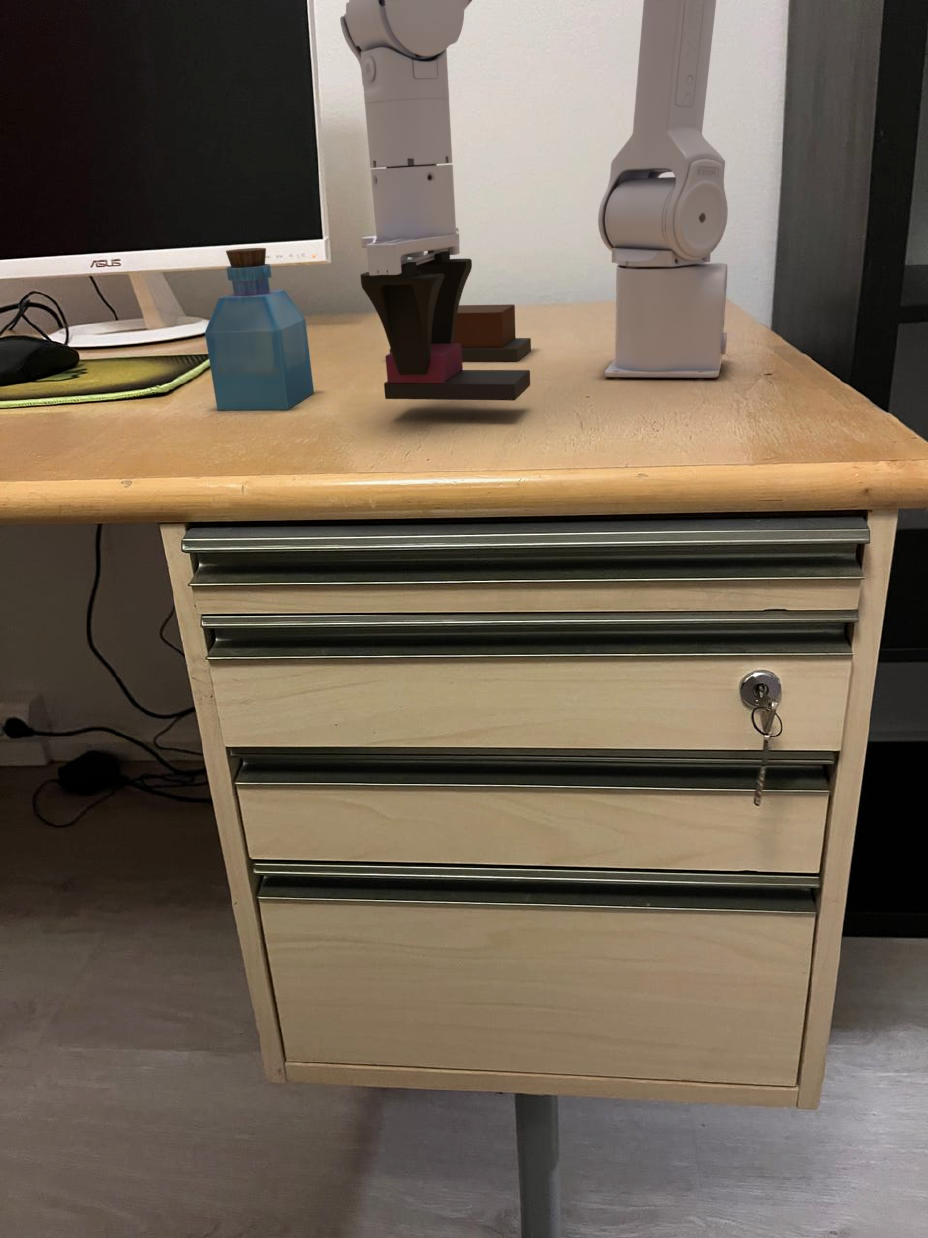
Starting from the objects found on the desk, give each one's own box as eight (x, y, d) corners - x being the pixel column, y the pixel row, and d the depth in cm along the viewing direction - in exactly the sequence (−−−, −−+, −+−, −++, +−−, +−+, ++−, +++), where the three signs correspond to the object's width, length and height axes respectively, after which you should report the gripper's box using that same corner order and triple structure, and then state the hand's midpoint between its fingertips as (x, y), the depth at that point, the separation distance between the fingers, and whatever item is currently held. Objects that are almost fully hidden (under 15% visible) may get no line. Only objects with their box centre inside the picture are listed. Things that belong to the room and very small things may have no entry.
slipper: (530, 385, 73) (529, 342, 71) (515, 400, 68) (513, 355, 67) (406, 384, 75) (403, 343, 74) (384, 399, 71) (381, 355, 70)
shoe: (531, 349, 97) (530, 303, 95) (517, 361, 91) (516, 312, 89) (410, 350, 100) (406, 305, 98) (390, 361, 95) (386, 313, 93)
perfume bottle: (288, 409, 77) (267, 251, 72) (217, 409, 78) (192, 254, 73) (314, 392, 83) (296, 244, 78) (247, 393, 84) (226, 247, 79)
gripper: (393, 168, 73) (407, 348, 79) (315, 172, 61) (338, 386, 67) (481, 162, 71) (489, 348, 77) (420, 166, 59) (434, 387, 65)
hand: (425, 366), depth 72 cm, fingers closed on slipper, 5 cm apart
